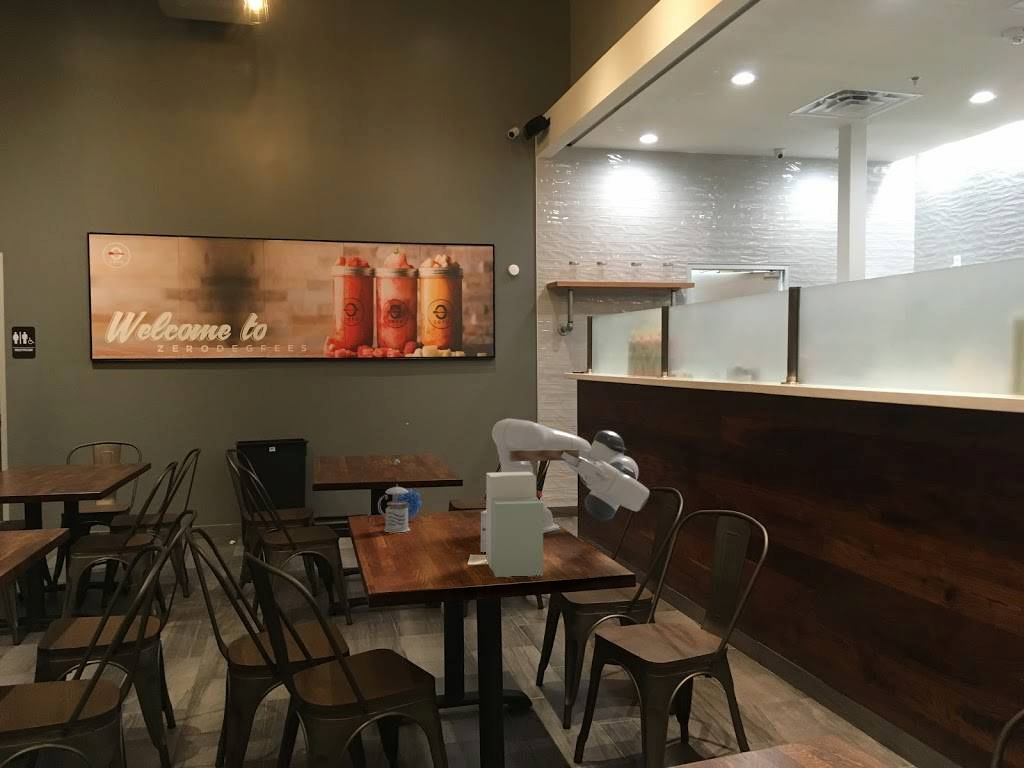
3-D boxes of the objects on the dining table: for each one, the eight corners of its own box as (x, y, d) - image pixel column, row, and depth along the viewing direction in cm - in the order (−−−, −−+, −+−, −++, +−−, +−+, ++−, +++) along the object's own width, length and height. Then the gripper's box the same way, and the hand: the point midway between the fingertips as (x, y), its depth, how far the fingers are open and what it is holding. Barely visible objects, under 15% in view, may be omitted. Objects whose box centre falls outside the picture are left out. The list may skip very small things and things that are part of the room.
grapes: (419, 518, 292) (419, 486, 291) (423, 521, 285) (423, 489, 285) (389, 520, 288) (388, 488, 288) (391, 523, 282) (391, 491, 281)
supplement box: (479, 553, 236) (479, 512, 236) (488, 547, 243) (488, 508, 243) (502, 555, 234) (502, 513, 234) (510, 549, 241) (510, 509, 241)
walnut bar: (576, 459, 227) (576, 448, 226) (579, 460, 224) (579, 449, 224) (509, 460, 223) (509, 449, 223) (511, 461, 220) (511, 450, 220)
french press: (406, 534, 264) (406, 461, 263) (373, 532, 266) (373, 460, 265) (414, 528, 273) (414, 458, 273) (383, 527, 275) (383, 457, 275)
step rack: (529, 559, 229) (529, 471, 228) (543, 575, 210) (543, 480, 209) (486, 560, 226) (486, 472, 226) (495, 577, 208) (495, 481, 207)
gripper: (604, 491, 216) (563, 467, 214) (585, 480, 236) (547, 458, 234) (615, 471, 216) (574, 447, 214) (595, 462, 236) (557, 440, 234)
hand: (560, 453), depth 224 cm, fingers closed on walnut bar, 3 cm apart
